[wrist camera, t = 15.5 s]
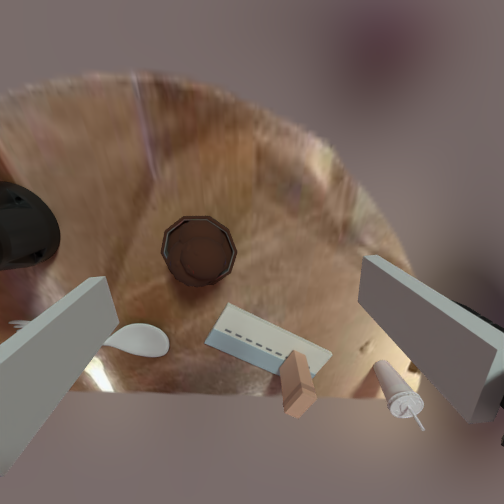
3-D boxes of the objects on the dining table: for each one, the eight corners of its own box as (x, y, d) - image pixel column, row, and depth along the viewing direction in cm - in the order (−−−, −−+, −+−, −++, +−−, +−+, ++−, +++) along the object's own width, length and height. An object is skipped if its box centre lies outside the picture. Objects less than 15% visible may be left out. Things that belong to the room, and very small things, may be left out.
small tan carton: (278, 368, 52) (284, 413, 43) (293, 349, 50) (302, 392, 41) (290, 373, 52) (298, 418, 43) (305, 355, 50) (317, 398, 41)
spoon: (20, 312, 50) (4, 322, 46) (171, 320, 50) (165, 330, 47) (32, 345, 53) (18, 357, 50) (173, 352, 53) (168, 364, 50)
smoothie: (399, 356, 52) (447, 421, 39) (390, 377, 55) (433, 445, 42) (371, 354, 52) (410, 418, 39) (363, 375, 55) (398, 442, 42)
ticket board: (205, 339, 51) (204, 343, 50) (227, 302, 48) (227, 306, 47) (303, 382, 56) (304, 387, 55) (331, 351, 52) (332, 355, 51)
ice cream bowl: (199, 191, 40) (168, 207, 26) (252, 228, 42) (250, 261, 28) (169, 239, 43) (128, 276, 29) (220, 271, 45) (205, 320, 31)
